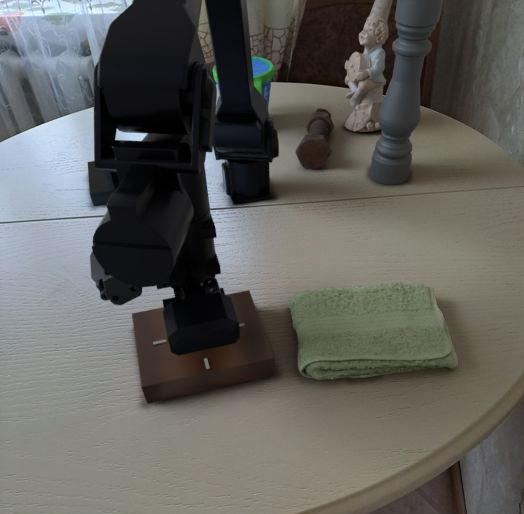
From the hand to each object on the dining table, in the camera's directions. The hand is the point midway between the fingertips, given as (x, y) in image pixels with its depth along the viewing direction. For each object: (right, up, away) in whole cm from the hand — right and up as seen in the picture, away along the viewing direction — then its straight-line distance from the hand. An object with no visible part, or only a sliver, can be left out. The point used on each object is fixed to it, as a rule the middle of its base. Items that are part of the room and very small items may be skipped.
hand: (198, 331), depth 55 cm
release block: (-15, +25, +27) cm, 39 cm away
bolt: (+17, +33, +33) cm, 50 cm away
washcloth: (+19, -1, +4) cm, 20 cm away
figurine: (+26, +39, +38) cm, 60 cm away
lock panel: (0, -2, +3) cm, 4 cm away
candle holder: (+27, +26, +26) cm, 46 cm away
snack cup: (+4, +40, +39) cm, 56 cm away
